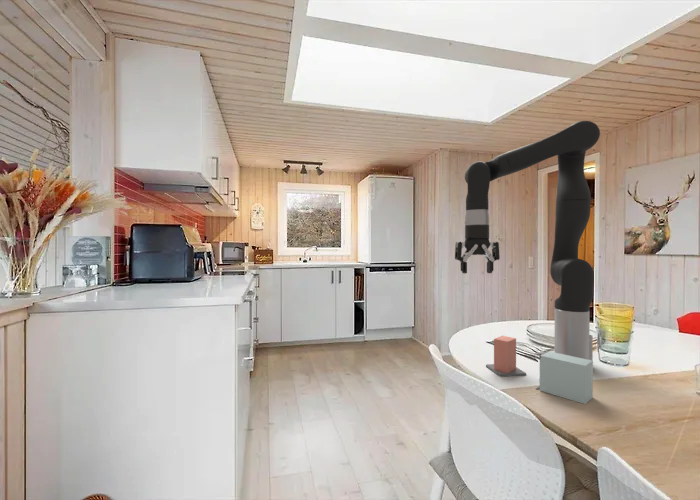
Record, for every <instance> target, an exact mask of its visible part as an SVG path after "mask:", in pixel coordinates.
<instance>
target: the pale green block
mask: <svg viewBox="0 0 700 500" xmlns="http://www.w3.org/2000/svg"><path fill="white" fill-rule="evenodd" d="M538 358H539V385H538V386H537V387H536V388H535V390H538V391H541V392H543V393H547V394H550V395H554V396H557V397H561V398H564V399H568V400H570V401H573V402H577V403H580V404H584V405H587V404H588V403H589V402H590V400H592V399H593V398H594V390H593V389H594V388H593V387H594V385H593V384H594V380H593V379H594V375H593V374H594V361H592V360H587V359H583V358H578V357H573V356H569V355H564V354H559V353H555V352H554V351H550V350H547V351H545V352H543V353H541V354H539V357H538Z"/></svg>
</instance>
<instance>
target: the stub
mask: <svg viewBox="0 0 700 500" xmlns="http://www.w3.org/2000/svg"><path fill="white" fill-rule="evenodd" d="M493 364H494V369H495V370H499V371H502V372H506V373H508V372H510V371H512V370H514V369H516V367H517V338H516V337H510V336H507V335H501V336H498V337H495V338H493Z"/></svg>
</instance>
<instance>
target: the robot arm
mask: <svg viewBox="0 0 700 500" xmlns="http://www.w3.org/2000/svg"><path fill="white" fill-rule="evenodd" d="M600 136H601V131H600V128H599V126H598V125H597V124H596V123H595V122H593V121H591V120H581V121H577V122H576V121H575V122H574V123H572V124H571V125H569V126H568V127H565V128H564V129H562V130H560V131H558V132H556V133H555V134H551V135H549V136H548V137H546V138H543V139H541V140H538V141H536V142H532V143H530V144H526V145H524V146H521V147H518V148H515V149H512V150H510V151H506V152H504V153H501V154H498V155H497V156H495V157H494V158H492V159H490V160H487V161H481V160H480V161H475V162H473V163H472V164H470V165H469V166H468V168H467V170H466V171H465V173H464V180H465V183H466V184H467V194H466V195H465V196H466V197H465V215H464V242H462V241H456V242H455V248H454V260H455V261H459V262H460V272H461V273H462V274H468V262H467V260H468V259H469V258H470V257H471V256H483V257H484V258H485V259H486V260H487V262H486V273H487V274H492V273H493V272H494V262H495V261H499V260H500V258H501V257H500V256H501V255H500V243H499V242H498V241H491V242H490V213H489V192H490V191H489V190H490V182H492V181H494V180H497V179H499V178H501V177H502V178H503V177H505V176H508V175H512V174H514V173H515V174H516V173H517V172H520V171H522V170H525V169H528V168H530V167H533V166H535V165H536V164H538V163H541V162H543V161H546V160H548V159H550V158H553V157H556V156H557V166H558V167H557V170H558V172H557V185H556V186H557V187H556V198H555V224H554V242H553V243H554V244H553V250H552V257H551V262H550V270H549V271H550V277H551V279H552V281H553V282H554V283H555V284H556V285H558V286H560V295H559V296H558V297H557V298H556V299H554V346H553V349H554V351H553V352H555V353H559V354H564V355H569V356H573V357H578V358H583V359H587V360H592V361H593V357H594V356H593V348H594V347H593V346H594V345H593V343H594V342H593V335H592V334H590V321H591V320H590V309H591V304H592V302H593V298H594V286H595V284H594V283H595V281H594V280H595V276H594V275H595V274H594V269H593V267H592V265H591V264H590V263H589V262H588V261H586V260H585V259H581V258H579V245H580V240H581V238H582V236H583V233H584V231H585V230H586V227H587V226H588V223H589V220H590V216H591V204H592V202H591V201H592V197H591V196H592V195H591V190H590V187H589V185H588V181H587V179H586V175H585V159H586V158H585V157H586V152H587V151H588V150H590V149H592V148H593V147H594V146H595V145H596V143H598V141H599V139H600ZM464 247H465V249H466V250H465V251H464V252H463V254H462V251H463V248H464ZM489 248H491V252H490V250H489ZM593 362H594V361H593Z"/></svg>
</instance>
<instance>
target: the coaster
mask: <svg viewBox="0 0 700 500" xmlns="http://www.w3.org/2000/svg"><path fill="white" fill-rule="evenodd" d="M485 367H486V368H488V369H489V370H490V371H491V372H492V373H494V374H496V375H497V376H498V377H514V376H515V377H516V376H517V377H519V376H523V377H524V376H527V372H525V371H523V370H522V369H520V368H518V367H517V366H516V369H514V370H512V371H510V372H508V373H506V372H502V371H499V370H495V369H494V363H493V364H485Z"/></svg>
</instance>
